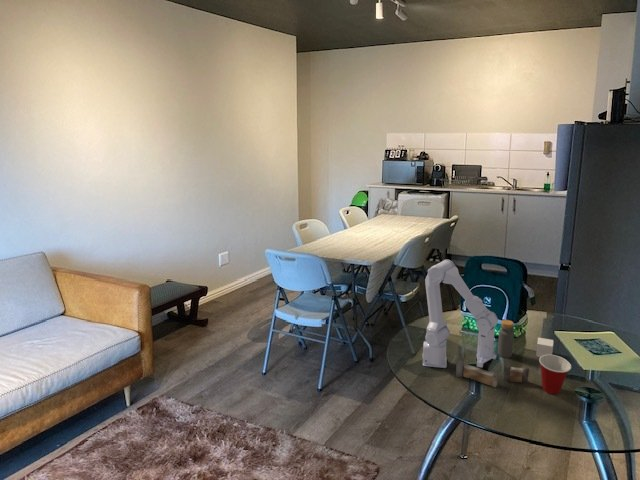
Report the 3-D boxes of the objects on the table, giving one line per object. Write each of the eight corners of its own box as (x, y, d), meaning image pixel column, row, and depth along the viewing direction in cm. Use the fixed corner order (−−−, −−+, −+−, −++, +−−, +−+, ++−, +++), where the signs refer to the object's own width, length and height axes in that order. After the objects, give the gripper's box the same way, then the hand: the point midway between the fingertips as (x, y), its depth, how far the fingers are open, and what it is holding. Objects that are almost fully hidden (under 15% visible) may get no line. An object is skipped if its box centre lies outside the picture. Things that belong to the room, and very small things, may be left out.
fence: (503, 381, 190) (504, 368, 189) (502, 377, 193) (503, 364, 191) (528, 383, 188) (529, 370, 187) (527, 380, 191) (528, 367, 189)
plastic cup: (554, 402, 177) (558, 372, 174) (529, 387, 186) (532, 359, 183) (574, 393, 182) (578, 364, 178) (549, 379, 191) (552, 351, 188)
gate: (463, 376, 194) (463, 365, 192) (464, 375, 195) (465, 363, 193) (495, 387, 186) (496, 375, 185) (496, 385, 187) (497, 373, 186)
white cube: (535, 356, 207) (537, 343, 206) (536, 349, 212) (537, 337, 211) (551, 359, 205) (553, 346, 203) (552, 352, 210) (553, 339, 208)
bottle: (513, 358, 206) (516, 325, 202) (498, 357, 207) (501, 324, 203) (510, 351, 212) (513, 319, 207) (496, 350, 213) (499, 318, 209)
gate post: (455, 376, 194) (456, 363, 193) (455, 372, 197) (456, 360, 195) (463, 377, 194) (464, 364, 192) (463, 373, 196) (463, 360, 195)
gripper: (491, 354, 179) (489, 387, 183) (501, 337, 191) (498, 368, 195) (472, 349, 183) (470, 382, 187) (482, 333, 194) (480, 364, 198)
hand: (483, 375), depth 191 cm, fingers closed
